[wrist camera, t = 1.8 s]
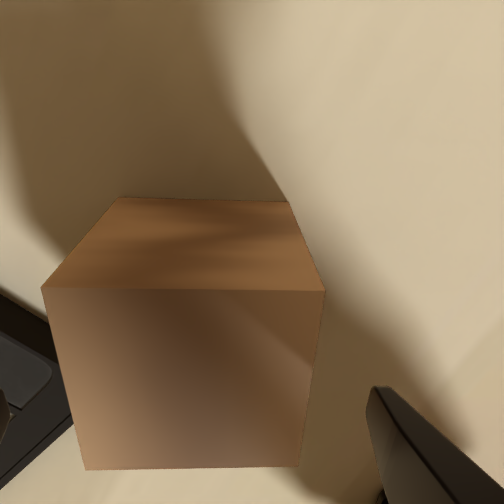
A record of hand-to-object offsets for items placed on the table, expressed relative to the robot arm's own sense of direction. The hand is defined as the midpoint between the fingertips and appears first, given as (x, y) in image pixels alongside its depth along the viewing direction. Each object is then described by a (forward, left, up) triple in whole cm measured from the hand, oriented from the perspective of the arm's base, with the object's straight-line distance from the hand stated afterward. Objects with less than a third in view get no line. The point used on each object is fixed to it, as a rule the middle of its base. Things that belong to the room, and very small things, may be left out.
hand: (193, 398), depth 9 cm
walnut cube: (0, 0, -6) cm, 6 cm away
